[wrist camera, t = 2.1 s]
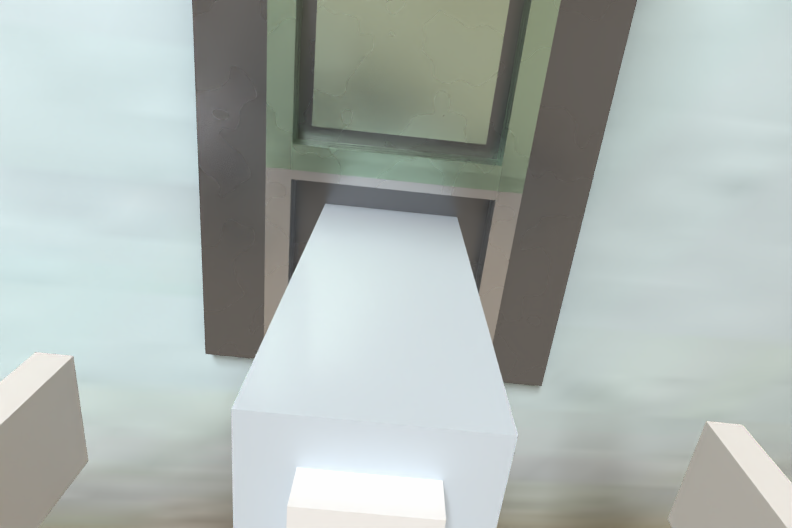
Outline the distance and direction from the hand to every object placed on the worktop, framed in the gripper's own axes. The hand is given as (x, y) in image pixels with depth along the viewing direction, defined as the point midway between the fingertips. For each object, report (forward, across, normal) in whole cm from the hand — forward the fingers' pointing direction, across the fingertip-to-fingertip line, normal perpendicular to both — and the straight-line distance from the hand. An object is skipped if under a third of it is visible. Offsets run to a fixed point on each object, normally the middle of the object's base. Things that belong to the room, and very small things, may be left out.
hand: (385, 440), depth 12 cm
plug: (+9, 0, 0) cm, 9 cm away
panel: (+9, 0, +4) cm, 10 cm away
